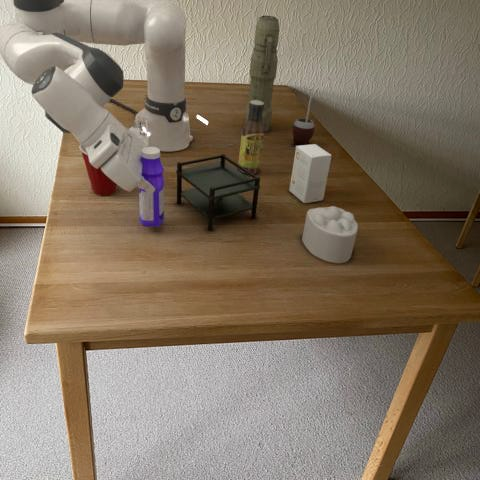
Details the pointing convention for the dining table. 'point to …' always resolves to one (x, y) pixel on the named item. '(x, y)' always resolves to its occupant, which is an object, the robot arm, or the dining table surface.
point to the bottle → (154, 202)
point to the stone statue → (264, 66)
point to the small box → (310, 173)
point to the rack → (217, 188)
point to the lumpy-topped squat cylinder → (330, 233)
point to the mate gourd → (303, 129)
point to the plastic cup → (98, 177)
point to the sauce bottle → (252, 138)
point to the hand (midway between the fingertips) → (153, 182)
